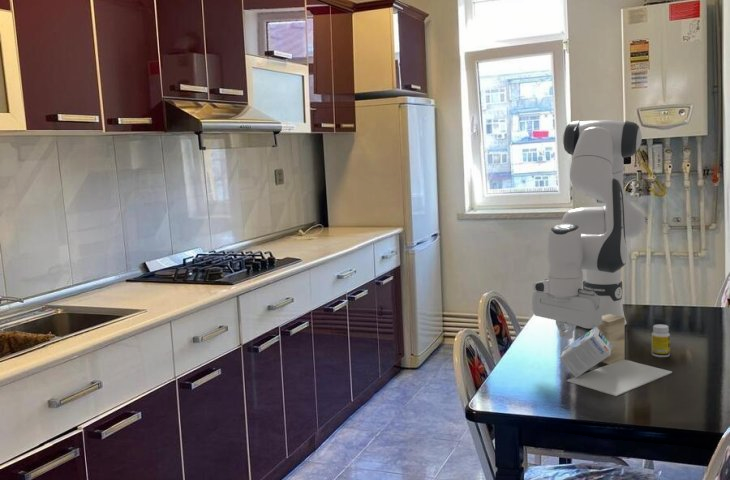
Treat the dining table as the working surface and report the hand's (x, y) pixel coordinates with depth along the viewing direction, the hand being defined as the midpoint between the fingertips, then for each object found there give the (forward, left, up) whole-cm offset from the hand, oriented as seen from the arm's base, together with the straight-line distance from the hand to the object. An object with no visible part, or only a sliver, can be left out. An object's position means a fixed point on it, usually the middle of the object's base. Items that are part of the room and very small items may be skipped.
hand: (566, 337), depth 179 cm
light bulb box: (0, +1, -7) cm, 7 cm away
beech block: (+1, +17, -10) cm, 20 cm away
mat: (+11, +7, -10) cm, 16 cm away
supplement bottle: (+8, +30, -10) cm, 33 cm away
